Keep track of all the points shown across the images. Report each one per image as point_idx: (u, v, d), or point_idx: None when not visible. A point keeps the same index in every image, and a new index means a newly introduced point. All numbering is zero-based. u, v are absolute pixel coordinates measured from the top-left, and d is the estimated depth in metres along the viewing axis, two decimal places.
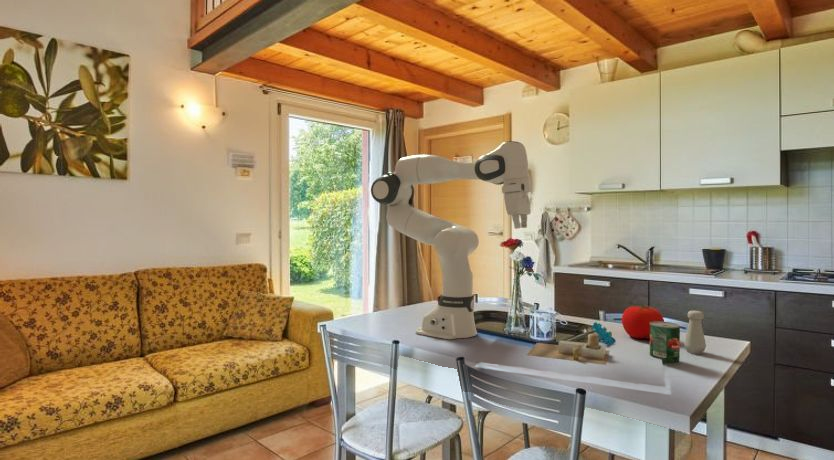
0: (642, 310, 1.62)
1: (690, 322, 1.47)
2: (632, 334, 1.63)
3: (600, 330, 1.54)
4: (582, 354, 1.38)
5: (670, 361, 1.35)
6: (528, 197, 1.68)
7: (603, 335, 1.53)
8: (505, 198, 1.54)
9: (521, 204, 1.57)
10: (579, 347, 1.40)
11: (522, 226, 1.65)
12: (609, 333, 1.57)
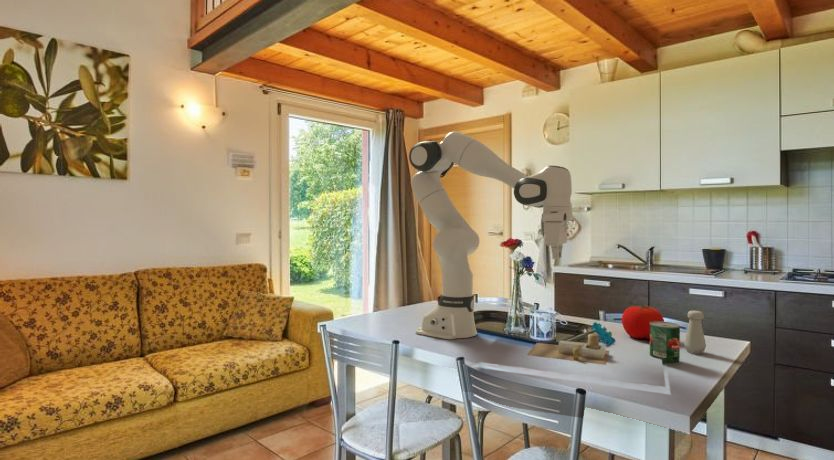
0: (642, 310, 1.62)
1: (690, 322, 1.47)
2: (632, 334, 1.63)
3: (600, 330, 1.54)
4: (582, 354, 1.38)
5: (670, 361, 1.35)
6: (566, 225, 1.59)
7: (603, 335, 1.53)
8: (545, 227, 1.45)
9: (561, 234, 1.48)
10: (579, 347, 1.40)
11: None
12: (609, 333, 1.57)
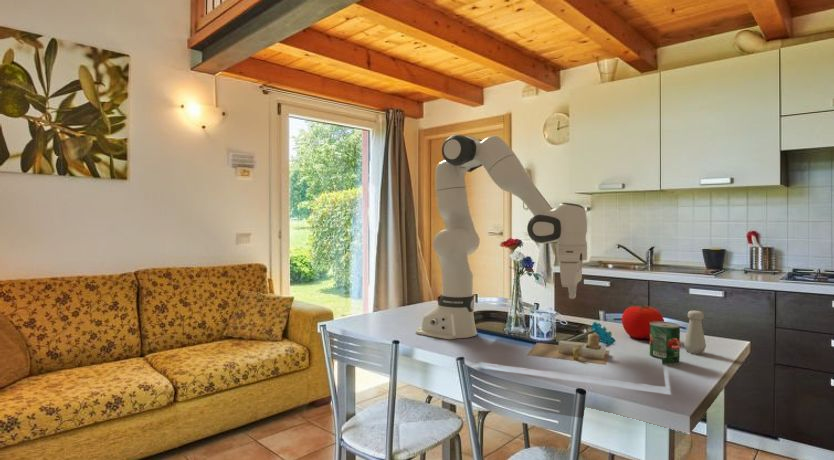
0: (642, 310, 1.62)
1: (690, 322, 1.47)
2: (632, 334, 1.63)
3: (599, 330, 1.55)
4: (582, 354, 1.38)
5: (670, 361, 1.35)
6: None
7: (602, 335, 1.53)
8: (561, 268, 1.40)
9: (576, 274, 1.44)
10: (579, 347, 1.40)
11: None
12: (609, 333, 1.57)
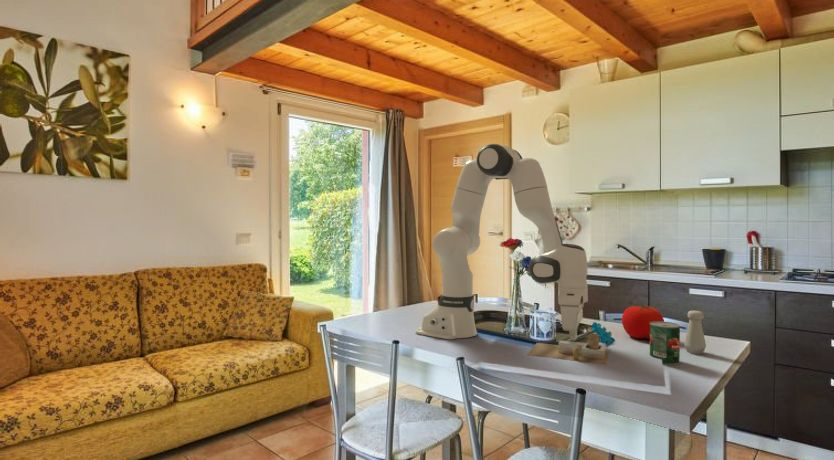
0: (642, 310, 1.62)
1: (690, 322, 1.47)
2: (632, 334, 1.63)
3: (599, 330, 1.55)
4: (582, 354, 1.38)
5: (670, 361, 1.35)
6: None
7: (602, 335, 1.53)
8: (562, 312, 1.41)
9: (577, 316, 1.44)
10: (579, 347, 1.40)
11: None
12: (609, 333, 1.58)
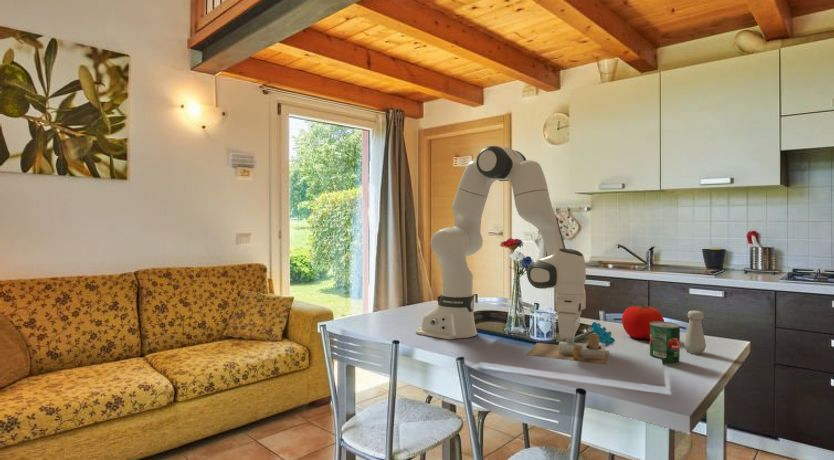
0: (642, 310, 1.62)
1: (690, 322, 1.47)
2: (632, 334, 1.63)
3: (599, 330, 1.55)
4: (583, 355, 1.37)
5: (670, 361, 1.35)
6: None
7: (601, 335, 1.53)
8: (559, 319, 1.37)
9: (575, 324, 1.40)
10: (580, 348, 1.39)
11: None
12: (608, 333, 1.58)
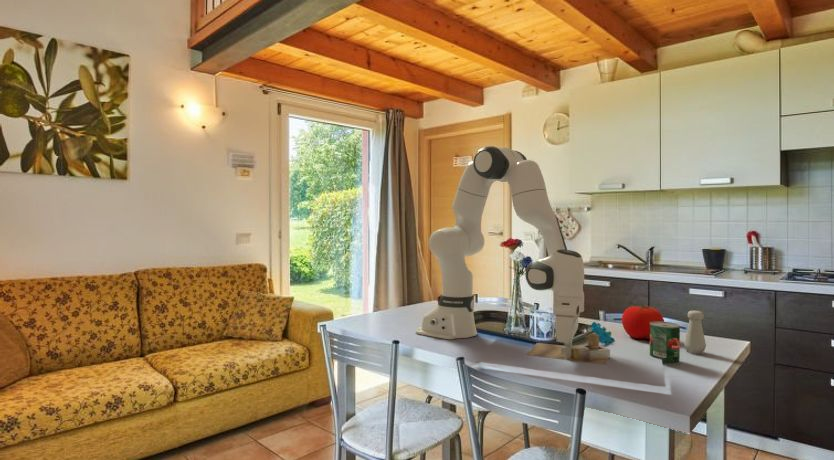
0: (642, 310, 1.62)
1: (690, 322, 1.47)
2: (632, 334, 1.63)
3: (598, 330, 1.55)
4: (591, 357, 1.36)
5: (670, 361, 1.35)
6: None
7: (601, 335, 1.53)
8: (556, 322, 1.33)
9: (573, 327, 1.36)
10: (585, 350, 1.37)
11: None
12: (608, 333, 1.58)
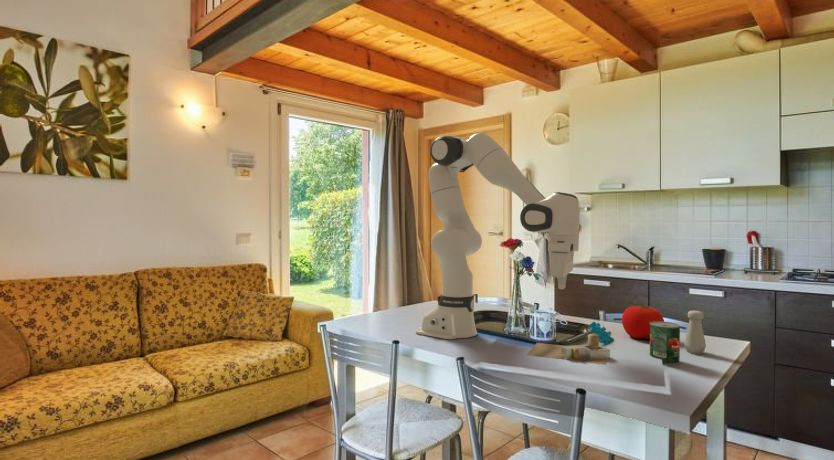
0: (642, 310, 1.62)
1: (690, 322, 1.47)
2: (632, 334, 1.63)
3: (597, 329, 1.55)
4: (591, 357, 1.36)
5: (670, 361, 1.35)
6: None
7: (600, 334, 1.53)
8: (551, 258, 1.39)
9: (566, 265, 1.43)
10: (585, 350, 1.37)
11: None
12: (608, 333, 1.58)
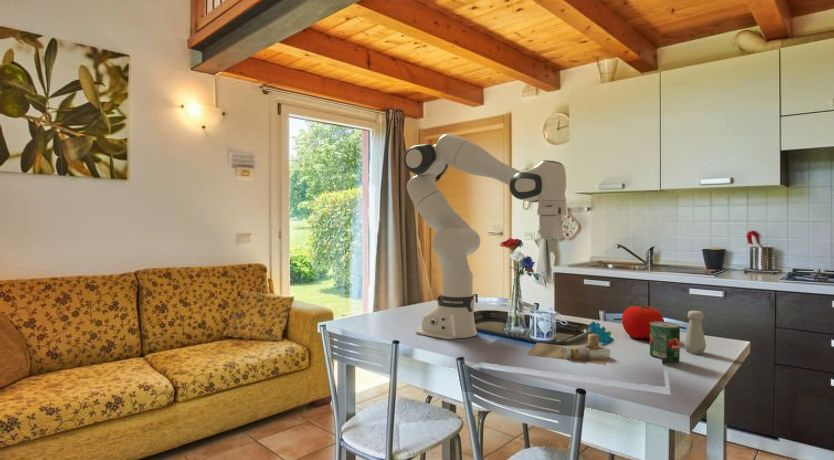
0: (642, 310, 1.62)
1: (690, 322, 1.47)
2: (632, 334, 1.63)
3: (597, 329, 1.55)
4: (591, 357, 1.36)
5: (670, 361, 1.35)
6: (561, 219, 1.61)
7: (599, 334, 1.54)
8: (540, 221, 1.47)
9: (555, 228, 1.51)
10: (585, 350, 1.37)
11: None
12: (608, 333, 1.58)
